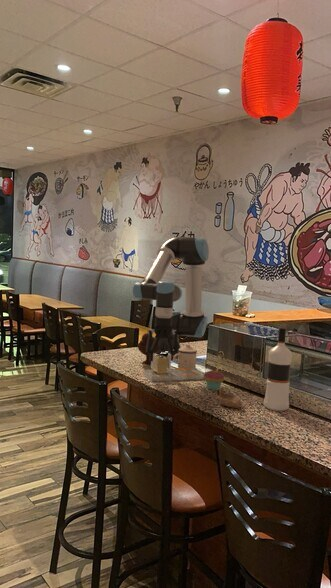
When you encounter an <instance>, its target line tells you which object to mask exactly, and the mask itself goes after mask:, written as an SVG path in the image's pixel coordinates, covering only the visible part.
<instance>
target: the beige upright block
mask: <svg viewBox="0 0 331 588" xmlns="http://www.w3.org/2000/svg"><path fill="white" fill-rule="evenodd" d="M167 361H168V358H167V356H166V355H155V366H154V373H155V374H156V375H161V374H167V369H168V368H167Z"/></svg>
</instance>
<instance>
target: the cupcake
mask: <svg viewBox="0 0 331 588" xmlns="http://www.w3.org/2000/svg"><path fill="white" fill-rule="evenodd" d="M220 363H221V359H219V360H218V363H217V367H216V370H210V371H207V372H205V373H203V374H204V377H203V378H204V379H203V380H205V382H206V385H207V388H208V389H210V390H217V389H218V388H221V384H222V382H224V381H225V376H224V374H223V373H222V372H220V371H219V369H220Z"/></svg>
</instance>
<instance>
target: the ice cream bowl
mask: <svg viewBox="0 0 331 588" xmlns="http://www.w3.org/2000/svg"><path fill="white" fill-rule="evenodd" d="M147 339H148V332H146V333H143V335H142V336H141V340H140V341H139V343H137V349H138V351H139V352H140V353H141V354H143V355H144V356H145V360H143V361H142V362H141V364H142V365H144V366H145V365H147V366H151V361H150V360H149V355H150V354H149V353H147V352H146V345H147ZM154 339H155V336H153V335H152V341H151V346H152V344H153V342H154ZM159 346H160V345H159V343H158V344H157V346H156V349H155V351H154V354H155V355H156V354H157V353H156V352H157V351H158V349H159ZM150 349H151V347H150Z"/></svg>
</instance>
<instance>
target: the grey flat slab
mask: <svg viewBox="0 0 331 588" xmlns="http://www.w3.org/2000/svg"><path fill="white" fill-rule="evenodd" d="M142 372H143V373H142V374H143V375H144V376H145V377H146V378H147V379H148V380H149V381H150V382H168V381H172V382H173V381H194V380H195V381H197V380H198V381H199V380H200V381H201V380H205V379H204V378H203V377H204V374H205V373H203V372H202V371H199V369H196V367H195V368H178V367H177V368H170V369H168V368H167V374H161V375H156V374H155V373H154V369H152V368H151V369H143V371H142Z"/></svg>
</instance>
